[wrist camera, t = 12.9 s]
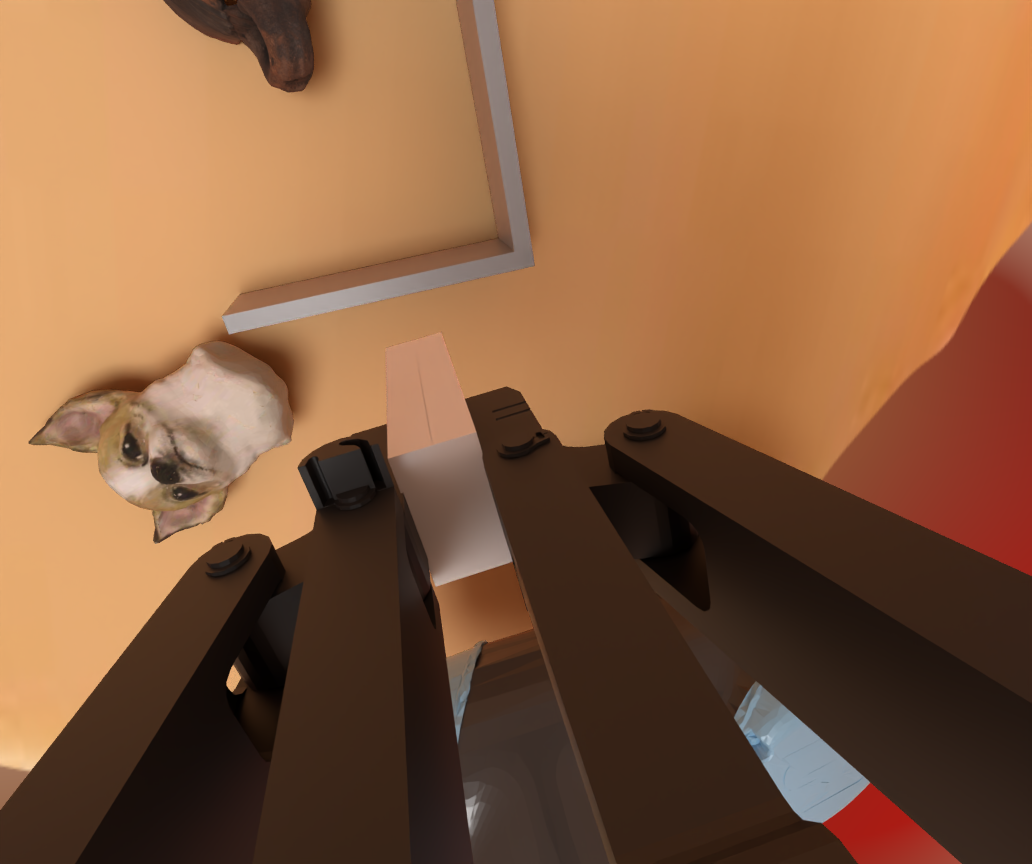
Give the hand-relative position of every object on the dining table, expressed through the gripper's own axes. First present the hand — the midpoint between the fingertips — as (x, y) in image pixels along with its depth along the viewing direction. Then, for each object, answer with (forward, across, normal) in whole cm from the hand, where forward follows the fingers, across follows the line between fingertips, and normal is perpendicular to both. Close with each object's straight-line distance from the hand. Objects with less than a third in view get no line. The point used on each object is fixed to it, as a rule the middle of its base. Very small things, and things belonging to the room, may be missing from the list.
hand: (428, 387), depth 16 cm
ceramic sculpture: (+24, +16, +6) cm, 30 cm away
